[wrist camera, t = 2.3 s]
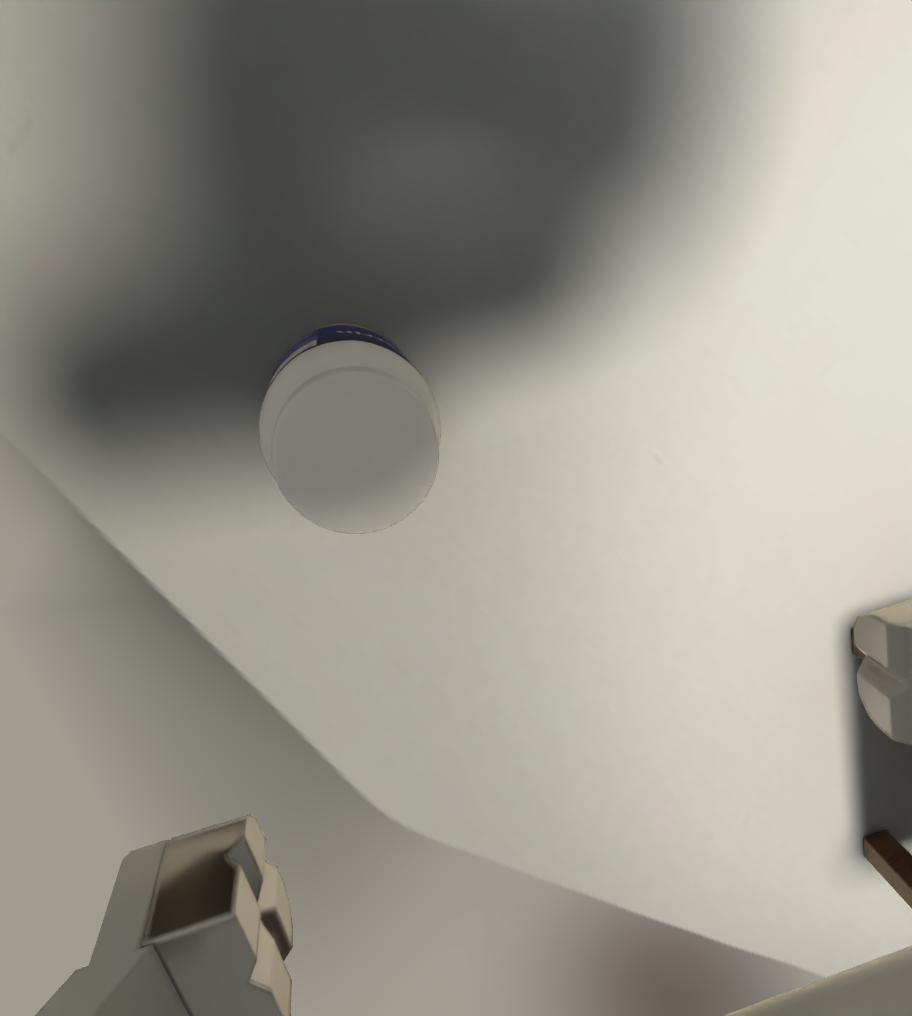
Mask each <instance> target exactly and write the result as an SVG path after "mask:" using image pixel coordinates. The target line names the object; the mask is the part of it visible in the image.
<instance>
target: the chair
mask: <svg viewBox="0 0 912 1016" xmlns="http://www.w3.org/2000/svg"><path fill="white" fill-rule="evenodd" d="M852 647H853V654H854V655H856V656H857V657H858V658H860V659H861V660H862V661H863V660H864V658H865V656H866V655H865V654H864V653H863V652H862V651H861V650H860V649H858V648H857V647H856V646H855V645H854V629H852ZM863 840H864V856H865V858H866V859H867V860H868V861H869V862H870V863H871V864H872V865H873V866H874V868H875V869H876V870H877V871H878V872H879V873H880V874H881V875H882V876H883V877H884V879H885V880H886V881H887V882H888V883H889V884H890V885H891V886H892V887H893V888H894V889H895V891H896V892H897V893H898V894H899V895H900V896H901V897H902V898H903V899H904V900H905V902H906V903H907V904H908V905H909V906H910V907H911V908H912V855H911V854H910V853H909V852H908V851H907V850H906V849H905V848H904V847H903V846H902V845H901V844H900V843H899V842H898V841H897V840H896V839H895V838H894V837H893V836H892V835H891V834H890V833H889V832H888V831H887V830H884V831H881V832H878V833H876V834H873V835H870V836H867V837H864V839H863Z"/></svg>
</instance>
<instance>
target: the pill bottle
mask: <svg viewBox="0 0 912 1016" xmlns="http://www.w3.org/2000/svg"><path fill="white" fill-rule="evenodd" d="M259 437H260V445H261V449H262V453H263V456H264V459H265V462H266V464H267V466H268V468H269V470H270V472H271V474H272V476H273V477H274V478H275V480H276V481H277V483H278V485H279V487H280V489H281V491H282V493H283V495H284V496H285V498H286V499H287V500H288V502H289V503H290V504H291V505H292V506H293V507H294V508H295V509H296V510H297V511H298V512H299V513H300V514H301V515H302V516H303V517H305V518H306V519H308V520H309V521H311V522H313V523H315V524H316V525H318V526H320V527H323V528H326V529H329V530H332V531H335V532H341V533H349V534H363V533H369V532H375V531H379V530H382V529H385V528H388V527H390V526H392V525H394V524H396V523H398V522H400V521H401V520H403V519H404V518H406V517H407V516H408V515H409V514H411V513H412V512H413V511H414V510H415V509H416V508H417V507H418V506H419V505H420V504H421V503H422V501H423V500H424V498H425V497H426V495H427V494H428V492H429V490H430V488H431V486H432V484H433V482H434V479H435V476H436V472H437V468H438V461H439V445H440V437H441V425H440V416H439V411H438V407H437V404H436V401H435V398H434V396H433V394H432V391H431V390H430V388H429V386H428V384H427V382H426V381H425V379H424V378H423V377H422V375H421V374H420V372H419V371H418V370H417V369H416V368H415V367H414V366H413V365H412V364H411V363H410V362H409V360H408V359H407V358H406V357H405V356H404V355H403V354H402V353H401V352H400V350H399V349H398V348H397V347H396V346H395V345H394V344H393V343H391V342H390V341H389V340H388V339H387V338H385V337H384V336H382V335H380V334H379V333H377V332H375V331H373V330H370V329H368V328H365V327H362V326H358V325H352V324H332V325H327V326H323V327H320V328H317V329H314V330H312V331H310V332H308V333H306V334H304V335H303V336H301V337H300V338H299V339H297V340H296V341H295V342H294V343H293V344H291V346H290V347H289V348H288V349H287V350H286V351H285V353H284V354H283V355H282V357H281V358H280V360H279V362H278V363H277V365H276V367H275V370H274V372H273V375H272V378H271V380H270V383H269V386H268V389H267V392H266V394H265V397H264V400H263V403H262V406H261V412H260V418H259Z"/></svg>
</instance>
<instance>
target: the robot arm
mask: <svg viewBox="0 0 912 1016" xmlns="http://www.w3.org/2000/svg"><path fill="white" fill-rule="evenodd" d="M854 645H855V646H856V647H857V648H858V649H860V650H861V651H862V652H863V653H864V654H865V655H866V656H865V658H864V660H863V662H862V664H861V666H860V668H859V670H858V671H857V673H856V674H857V683H858V691H859V696H860V698H861V701H862V703H863V705H864V707H865V709H866V712H867V714H868V715H869V717H870V718H871V719H872V721H873V722H874V723H875V724H876V726H877V727H878V728H879V729H880V730H881V731H882V732H884V733H885V734H886V735H887V736H888V737H889V738H891V739H892V740H893V741H896V742H900V743H903V744H907V745H910V746H912V599H910V600H907V601H904V602H901V603H898V604H895V605H892V606H889V607H886V608H883V609H880V610H877V611H874V612H871V613H868V614H865V615H862V616H859V617H857V620H856V623H855V626H854ZM265 847H266V838H265V836H264V834H263V832H262V829H261V827H260V825H259V823H258V821H257V819H256V818H255V817H254V816H252V815H251V814H249V815H246V816H243V817H239V818H236V819H233V820H229V821H226V822H223V823H219V824H216V825H213V826H209V827H206V828H203V829H200V830H196V831H194V832H190V833H186V834H183V835H180V836H177V837H173V838H172V839H170V840H164V841H161V842H158V843H155V844H152V845H148V846H145V847H142V848H139V849H136V850H133V851H131V852H130V853H129V854H128V855H127V856H125V857H124V859H123V861H122V863H121V867H120V869H119V873H118V876H117V879H116V882H115V885H114V888H113V891H112V894H111V898H110V901H109V904H108V907H107V910H106V913H105V917H104V920H103V923H102V926H101V929H100V932H99V936H98V939H97V942H96V945H95V948H94V951H93V954H92V958H91V961H90V964H89V966H87V967H84V968H81V969H78V970H76V971H75V972H74V973H73V974H72V975H71V976H70V977H69V978H68V979H67V981H66V982H65V983H64V984H63V985H62V986H61V987H60V988H59V989H58V991H57V992H56V993H55V994H54V995H53V996H52V997H51V998H50V999H49V1001H48V1002H47V1003H46V1004H45V1005H44V1006H43V1007H42V1008H41V1009H40V1011H39V1012H38V1013H37V1014H36V1015H35V1016H291V988H292V980H291V978H290V975H289V973H288V971H287V968H286V966H285V964H284V960H285V958H286V957H287V955H288V954H289V952H290V950H291V949H292V947H293V924H292V917H291V910H290V903H289V898H288V894H287V891H286V888H285V884H284V881H283V878H282V876H281V873H280V871H279V869H278V866H276V865H274V864H272V863H270V862H268V861H266V860H265ZM724 1016H912V946H909V947H907V948H904V949H901V950H899V951H896V952H893V953H890V954H888V955H885V956H882V957H880V958H877V959H874V960H872V961H869V962H866V963H864V964H861V965H858V966H856V967H853V968H850V969H848V970H845V971H842V972H839V973H837V974H834V975H831V976H829V977H826V978H823V979H821V980H818V981H815V982H813V983H810V984H808V985H805V986H802V987H799V988H797V989H794V990H791V991H789V992H786V993H783V994H780V995H778V996H775V997H773V998H770V999H767V1000H765V1001H762V1002H759V1003H756V1004H754V1005H751V1006H748V1007H746V1008H743V1009H740V1010H738V1011H735V1012H732V1013H730V1014H727V1015H724Z"/></svg>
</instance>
